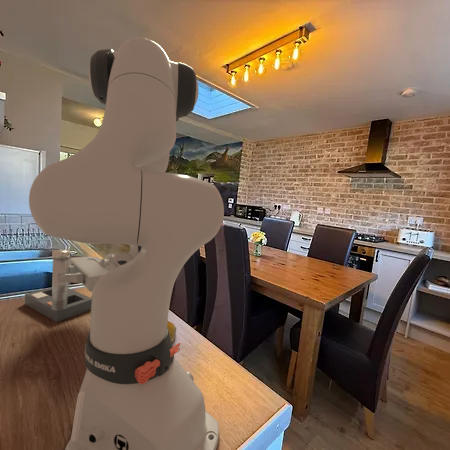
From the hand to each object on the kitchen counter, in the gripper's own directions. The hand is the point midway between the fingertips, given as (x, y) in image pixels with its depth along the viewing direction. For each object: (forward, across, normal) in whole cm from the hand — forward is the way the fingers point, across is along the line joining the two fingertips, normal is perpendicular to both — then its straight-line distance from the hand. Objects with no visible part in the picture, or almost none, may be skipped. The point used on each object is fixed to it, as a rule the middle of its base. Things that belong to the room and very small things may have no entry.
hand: (56, 275), depth 61 cm
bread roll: (-19, +16, +14) cm, 29 cm away
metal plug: (-1, 0, +8) cm, 8 cm away
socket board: (-3, -13, +13) cm, 19 cm away
